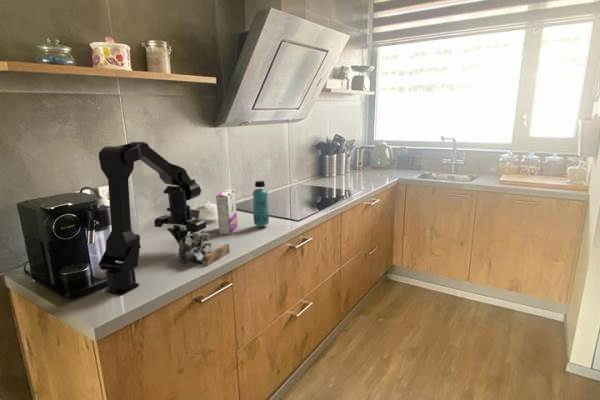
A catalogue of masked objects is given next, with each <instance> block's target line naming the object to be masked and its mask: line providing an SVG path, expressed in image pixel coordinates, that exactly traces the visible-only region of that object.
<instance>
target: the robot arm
mask: <svg viewBox="0 0 600 400" xmlns="http://www.w3.org/2000/svg"><path fill="white" fill-rule="evenodd" d="M98 160H99V165H100V169H101V171H102V172H103V174H104V175H105V177H106V179H107V184H108V186H107V187H108V198H109V199H108V200H109V213H110V216H109V217H110V226H111V227H110V233H109V235H108V236H107V238H106V241H105V250H104V252H103V254H102V256H101V258H100V260H99V262H98V267H99V268H100V270H101V271H105V275H106V281H107V288H105V289H104V292H107V293H109V294H110V293H111V294H114V295H118V296H122V295H124V294H126V293H128V292H129V291H132V290H133V289H136V288H137V287H138V286H140V283H137V279H136V273H135V269H136V268H137V267H138V264H139V258H140V257H139V256H140V249H141V248H142V245H141V236H140V234H137V233H135V232H133V230H132V221H131V219H132V218H131V206H130V187H129V186H130V185H129V178H130V177H131V174H132V173H133V171H134V168H135V167H134V166H135V162H137V161H140V162H142V163H144V164H145V165H146V166H148V167H149V168H151V169H152V170H153V171H154V172H156V173H158V175H159V177H158V178H159V179H161V181H162V182H163V183H164V184H165V185H167V186H166V188H165V189H164V190H163V194H167V196H168V197H167V198H168V205H169V207H167V208H166V211H167V212H169V215H167V214H165V215H162V216H160V217H159V216H158V217H156V218H155V219H154V222H153V223H154V227H155V228H162V227H163V225H168V226H167V227H168V228H167V229H166V230H167V231H168V232H169V233H170V234H171V235H172V237H173V238H174V239H175V241H176V242H177V244H178V245H179V242H180V240H182V239H183V240H182V242H184V243H186V240H187V237H186V236H187V235H189V233H190V232H194V233H199V232H201V231H203V230H204V229H207V221H205V220H203V219H199V217H200V213H201V212H200V210H198V209H191V206H190V205H189V204H188V205H187V201H190V200H192V199H195V198H198V197H200V195H201V193H202V188H201V187H200V185H199V184H198V183H197V182H196V179H195V178H194V179H191V178H190V176H189V175H188V173H187V170H186V169H185V168H184V167H182V166H179V165H176V164H174V163H171V162H170V161H168V160H166V158H164V157H163V156H162V155H160V154H159V153H158V152H157V151H155V150H154V149H153V148H152V147H150V146H149V144H148V143H147V142H145V141H132V142H129V143H126V144H121V145H117V146H116V145H115V146H114V145H113V146H112V145H110V146H109V145H108V146H103V148H102V149H101V150H99V152H98ZM193 219H194V220H193ZM183 234H185V235H183ZM185 237H186V238H185Z"/></svg>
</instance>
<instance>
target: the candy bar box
mask: <svg viewBox="0 0 600 400" xmlns="http://www.w3.org/2000/svg"><path fill="white" fill-rule="evenodd" d="M235 191H236V190H235V189H223V190H222V191H221V192H219V193H218V194H216V196H215V200H216V210H217V211H216V212H217V221H218V233H219V235H231V234H232V233H233V232H234V231H235V230H236V228H237V227H238V218H237V217H238V216H237V205H236V194H235Z"/></svg>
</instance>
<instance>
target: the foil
mask: <svg viewBox="0 0 600 400" xmlns="http://www.w3.org/2000/svg"><path fill="white" fill-rule="evenodd" d="M183 235H185V234H183ZM210 237H211V234H210V233H208V232H206V231H204V230H200V232H188V234H187V236H186V237H185V238H186V239H187V238H189V239H190V240H191V241H192V243H191V244H188V243H186V242H185V243H184V242H182V240H183V239H182V240H180V242H179V244H178V247H179V248H178V256H179V261H180V263H181V264H184V262H185V260H189V261H190V260H191V258H192V257H195V259H196V261H198V263H202V264H204V259H203V256H205V255H207V254H208V253H210V252H212V251H214V248H213V249H211V247H212V246H211V245H212V242H209V239H210ZM204 242H206V243H204ZM207 242H208V243H207ZM196 250H197V251H196Z"/></svg>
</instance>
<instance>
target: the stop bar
mask: <svg viewBox="0 0 600 400" xmlns="http://www.w3.org/2000/svg"><path fill="white" fill-rule="evenodd" d="M211 251H212V252H210V253H208V254H207V255H205V256H203V259H204V263H203V266H210V265H212V264H213V263H215V262H216V261H218V260H219V259H221V258H223V257H225V256H227V255H228V254H230V244H229V243H225V244H223V245H221V246H219V247H217V248H216V249H213V250H211Z"/></svg>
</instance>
